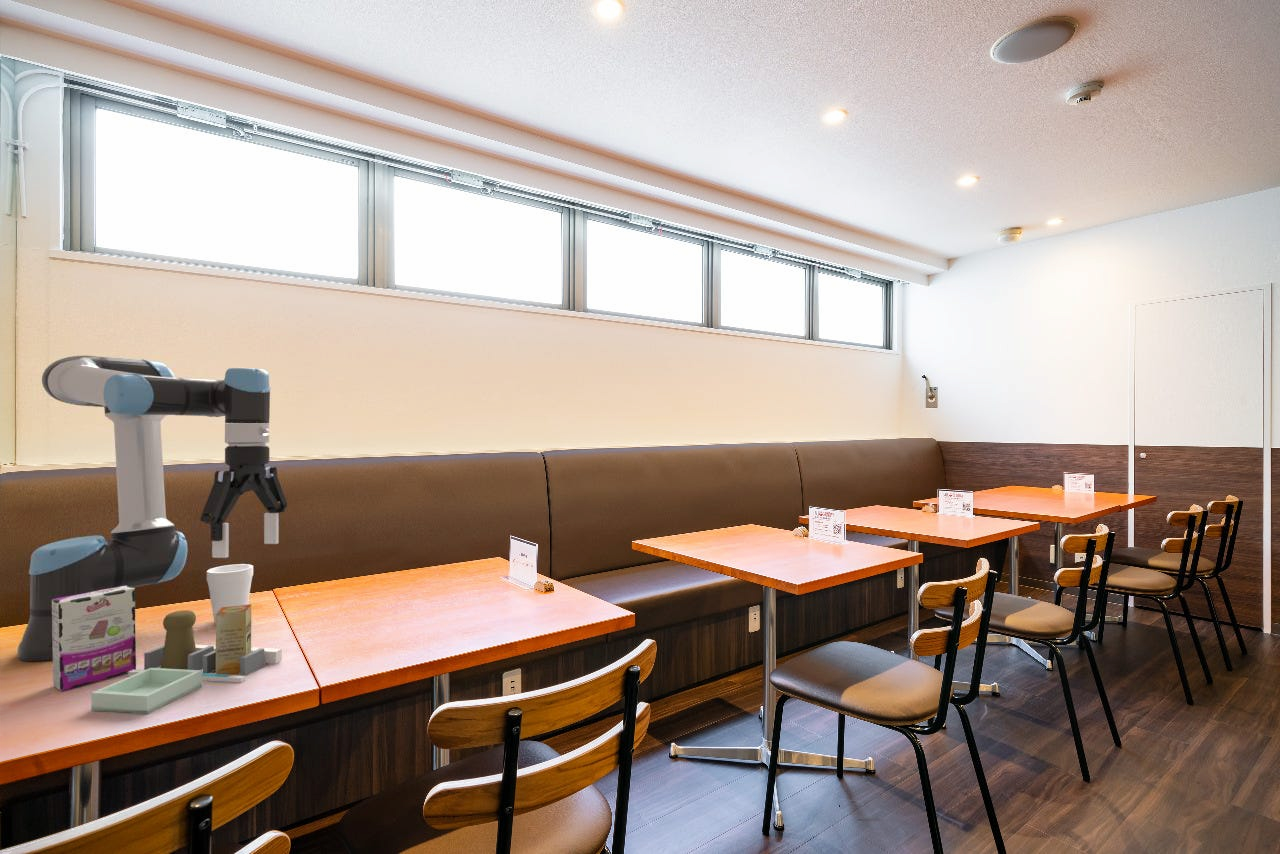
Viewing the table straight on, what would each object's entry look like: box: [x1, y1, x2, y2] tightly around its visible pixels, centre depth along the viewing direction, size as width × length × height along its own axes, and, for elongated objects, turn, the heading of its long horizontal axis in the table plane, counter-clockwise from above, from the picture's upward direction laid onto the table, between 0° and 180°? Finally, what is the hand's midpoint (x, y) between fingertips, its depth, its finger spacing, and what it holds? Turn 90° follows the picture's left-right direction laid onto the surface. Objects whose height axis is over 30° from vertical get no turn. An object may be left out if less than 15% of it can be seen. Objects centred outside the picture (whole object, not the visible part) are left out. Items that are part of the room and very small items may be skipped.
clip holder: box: [127, 644, 283, 683], centre depth 118 cm, size 24×10×4 cm, turn 83°
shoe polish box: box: [215, 603, 252, 675], centre depth 117 cm, size 5×5×12 cm
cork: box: [160, 609, 197, 670], centre depth 118 cm, size 6×6×11 cm
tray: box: [90, 667, 203, 715], centre depth 105 cm, size 11×11×3 cm
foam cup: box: [206, 563, 254, 625], centre depth 147 cm, size 10×9×13 cm
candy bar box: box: [52, 586, 137, 693], centre depth 113 cm, size 11×5×16 cm, turn 148°
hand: (247, 550), depth 119 cm, fingers open, 13 cm apart
